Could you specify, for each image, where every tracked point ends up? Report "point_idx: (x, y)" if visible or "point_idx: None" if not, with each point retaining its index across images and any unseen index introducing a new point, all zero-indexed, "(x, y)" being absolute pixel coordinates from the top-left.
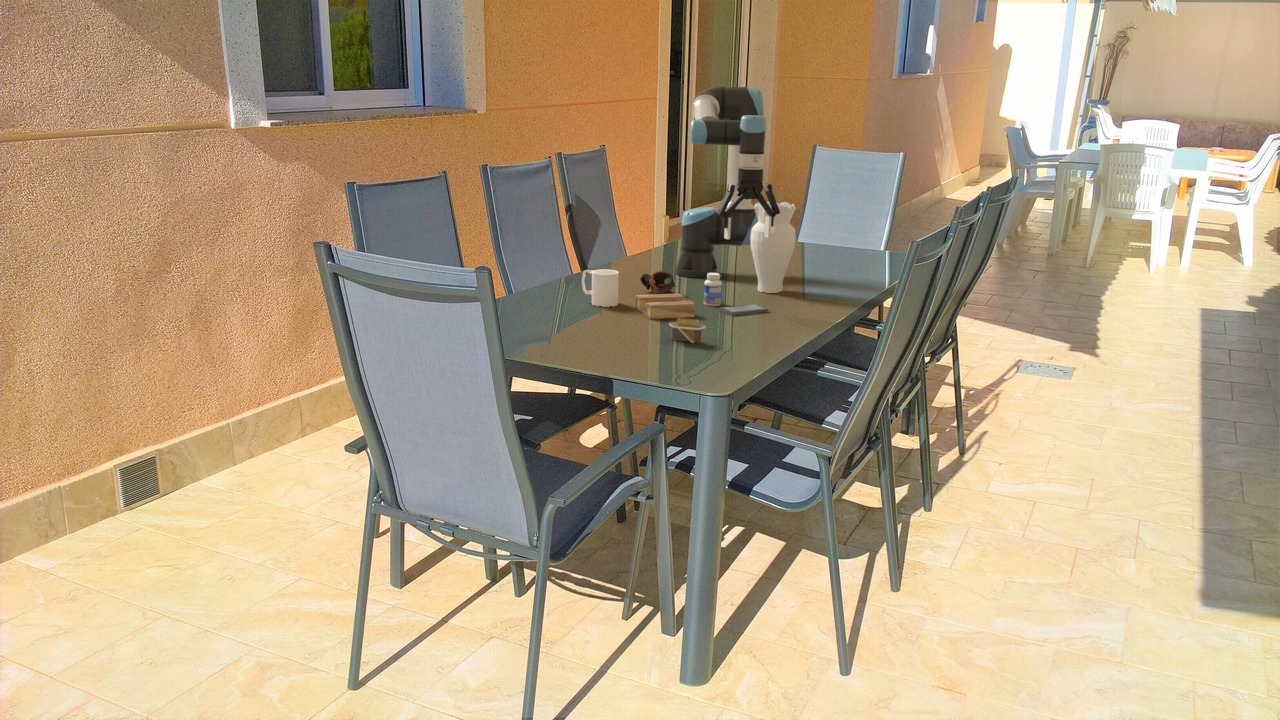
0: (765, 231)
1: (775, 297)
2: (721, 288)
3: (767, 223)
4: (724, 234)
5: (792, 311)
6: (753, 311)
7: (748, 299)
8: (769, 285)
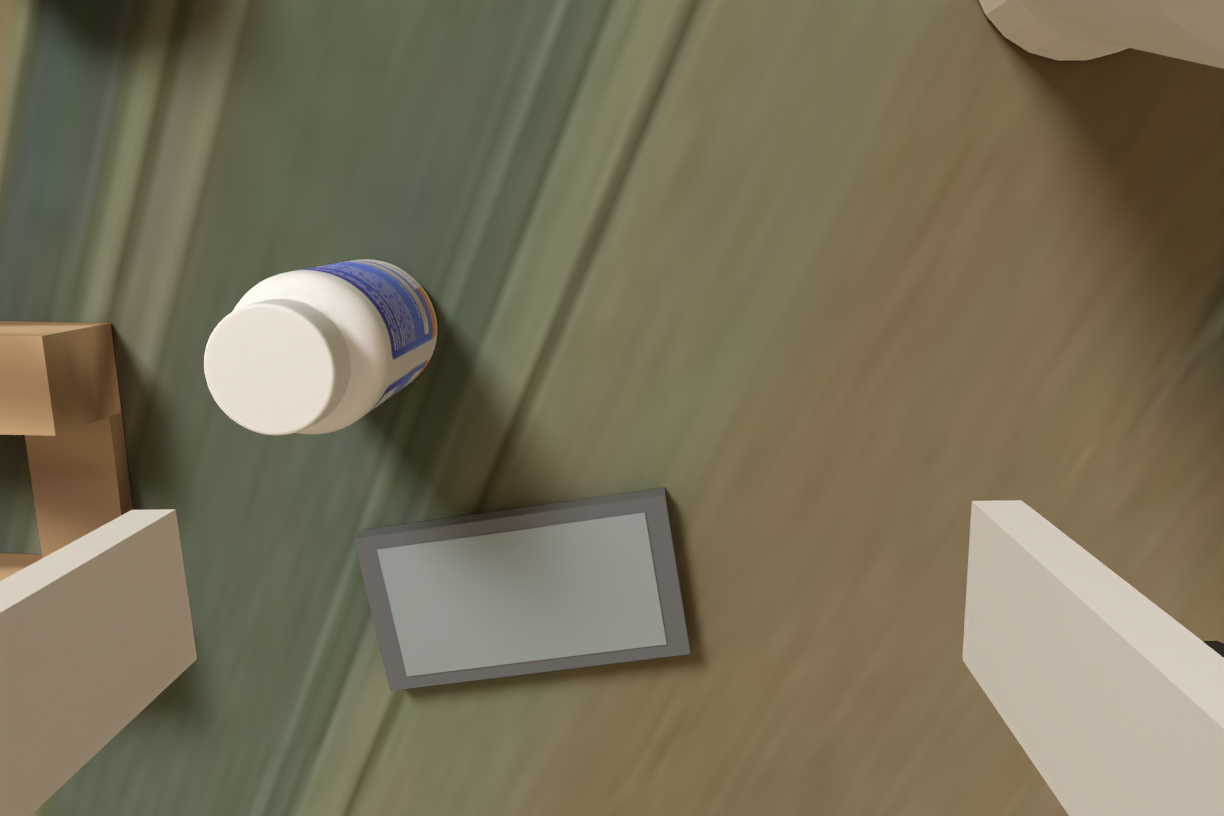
0: (1012, 591)
1: (997, 200)
2: (396, 377)
3: (1097, 781)
4: (89, 543)
5: (875, 660)
6: (565, 664)
7: (731, 222)
8: (1051, 30)
